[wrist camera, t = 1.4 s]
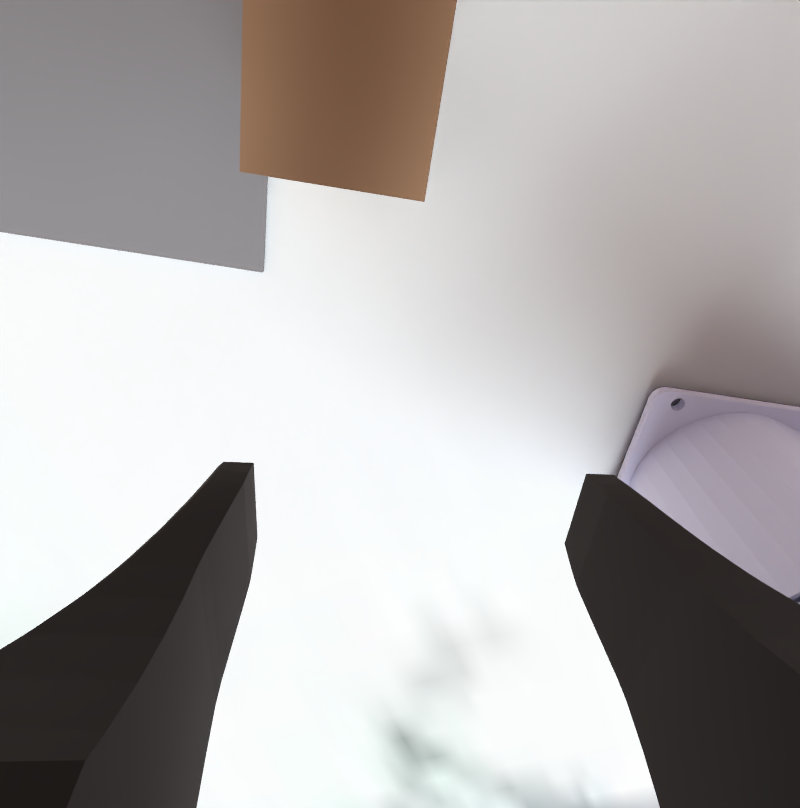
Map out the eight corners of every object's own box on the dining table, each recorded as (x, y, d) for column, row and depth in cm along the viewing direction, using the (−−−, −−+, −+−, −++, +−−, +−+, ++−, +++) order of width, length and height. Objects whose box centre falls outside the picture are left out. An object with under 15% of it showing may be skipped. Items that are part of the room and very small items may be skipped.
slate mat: (281, -188, 14) (279, -191, 14) (263, 270, 20) (262, 272, 20) (-118, -265, 14) (-124, -269, 14) (-24, 226, 19) (-28, 227, 19)
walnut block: (443, 30, 17) (460, -25, 10) (420, 173, 18) (423, 201, 12) (308, 6, 16) (243, -64, 10) (299, 153, 18) (239, 172, 12)
